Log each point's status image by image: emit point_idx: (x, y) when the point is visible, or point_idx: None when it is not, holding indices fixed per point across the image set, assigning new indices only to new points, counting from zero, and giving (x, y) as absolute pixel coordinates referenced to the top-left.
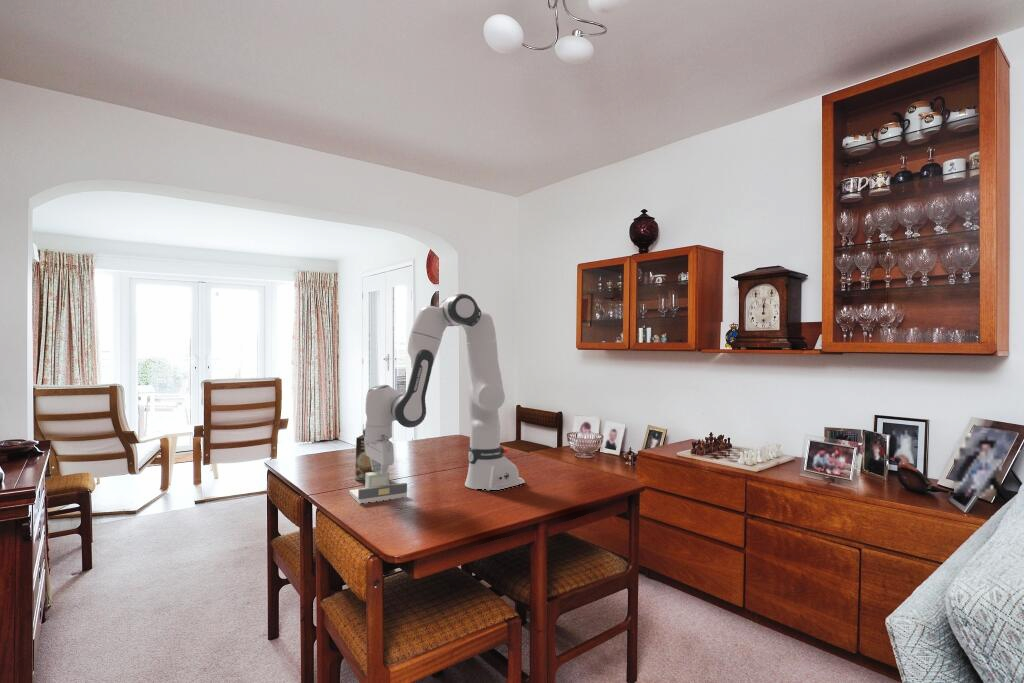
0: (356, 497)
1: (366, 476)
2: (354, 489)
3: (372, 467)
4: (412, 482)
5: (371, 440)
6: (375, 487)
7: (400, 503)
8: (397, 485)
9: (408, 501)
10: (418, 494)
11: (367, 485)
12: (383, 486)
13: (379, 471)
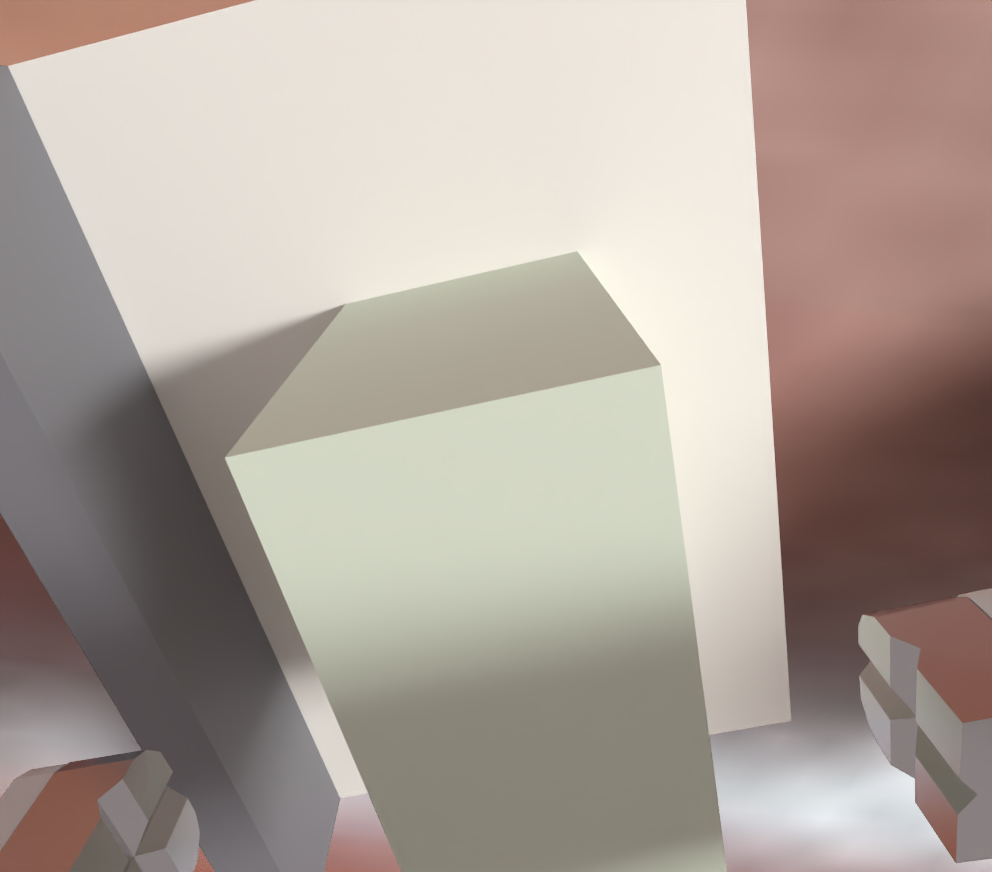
0: (143, 33)
1: (510, 362)
2: (745, 17)
3: (974, 672)
4: (925, 861)
5: None
6: (27, 482)
7: (37, 669)
8: None
9: (119, 751)
10: (390, 859)
11: (412, 321)
12: (101, 629)
13: (683, 756)
